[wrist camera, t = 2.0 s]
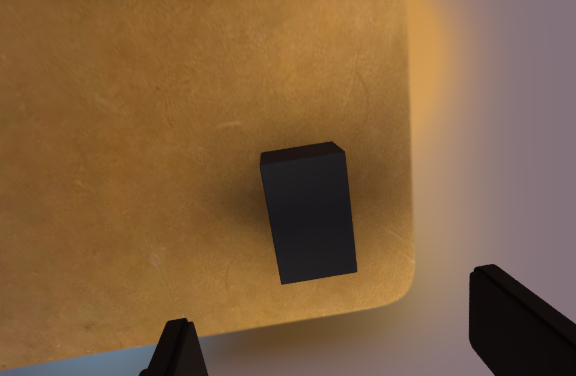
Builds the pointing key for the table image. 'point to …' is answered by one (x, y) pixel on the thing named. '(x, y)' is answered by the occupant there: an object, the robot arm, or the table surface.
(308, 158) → the loose pad
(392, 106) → the table surface
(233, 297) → the table surface
